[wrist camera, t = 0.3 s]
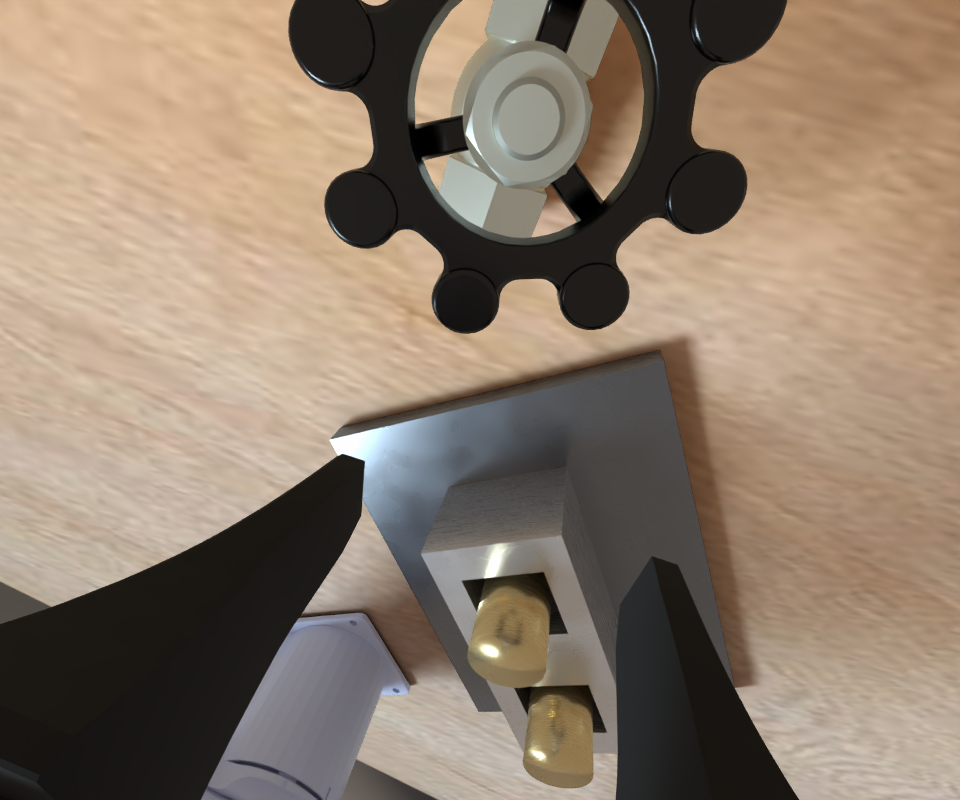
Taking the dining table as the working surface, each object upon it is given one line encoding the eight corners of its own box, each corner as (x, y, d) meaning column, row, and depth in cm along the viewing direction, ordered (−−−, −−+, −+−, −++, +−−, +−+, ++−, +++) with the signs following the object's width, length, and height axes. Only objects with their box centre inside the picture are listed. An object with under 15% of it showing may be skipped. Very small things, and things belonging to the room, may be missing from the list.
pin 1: (500, 598, 23) (482, 688, 19) (479, 552, 22) (455, 637, 18) (561, 593, 22) (555, 687, 18) (542, 544, 21) (532, 633, 17)
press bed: (482, 693, 33) (478, 711, 32) (340, 427, 25) (329, 439, 24) (733, 688, 28) (739, 709, 27) (659, 350, 20) (663, 361, 19)
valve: (649, 46, 15) (924, -93, 5) (564, 242, 19) (630, 394, 8) (457, -40, 15) (332, -413, 4) (403, 180, 18) (259, 265, 8)
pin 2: (542, 691, 25) (534, 786, 22) (525, 653, 24) (514, 747, 20) (598, 690, 24) (600, 789, 21) (584, 651, 23) (582, 749, 19)
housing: (531, 670, 29) (523, 751, 25) (448, 487, 24) (420, 554, 20) (633, 666, 27) (640, 754, 23) (566, 466, 22) (561, 535, 18)
